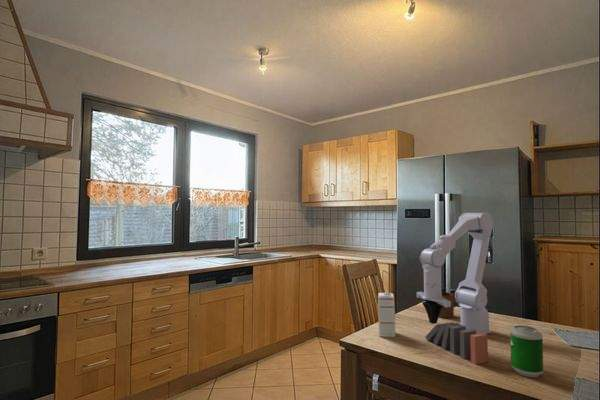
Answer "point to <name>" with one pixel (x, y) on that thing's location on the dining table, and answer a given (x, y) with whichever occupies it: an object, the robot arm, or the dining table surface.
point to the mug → (448, 311)
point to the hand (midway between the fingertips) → (433, 322)
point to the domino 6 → (479, 348)
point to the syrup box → (386, 314)
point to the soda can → (526, 351)
